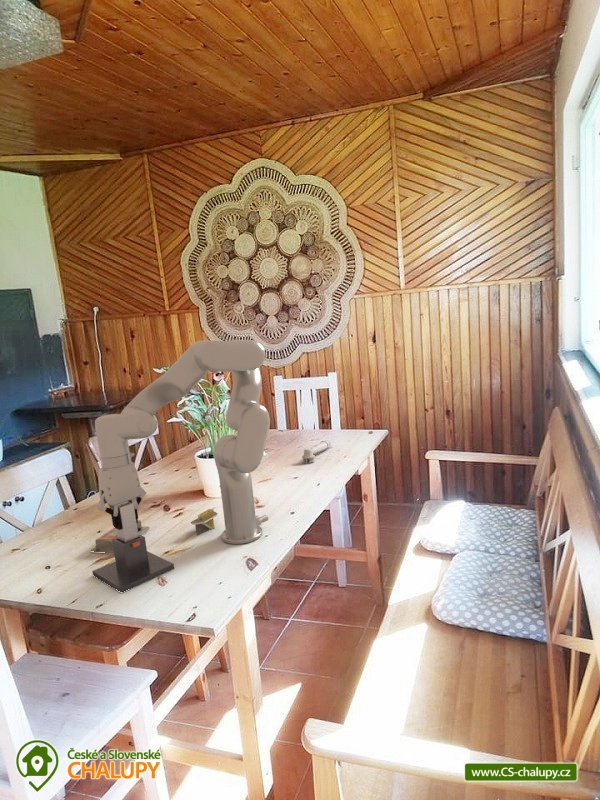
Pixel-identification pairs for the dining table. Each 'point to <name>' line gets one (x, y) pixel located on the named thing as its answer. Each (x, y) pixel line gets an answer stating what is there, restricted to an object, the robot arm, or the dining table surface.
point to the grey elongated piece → (314, 451)
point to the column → (127, 523)
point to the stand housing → (132, 565)
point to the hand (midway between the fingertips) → (126, 524)
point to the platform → (205, 521)
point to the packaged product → (105, 540)
